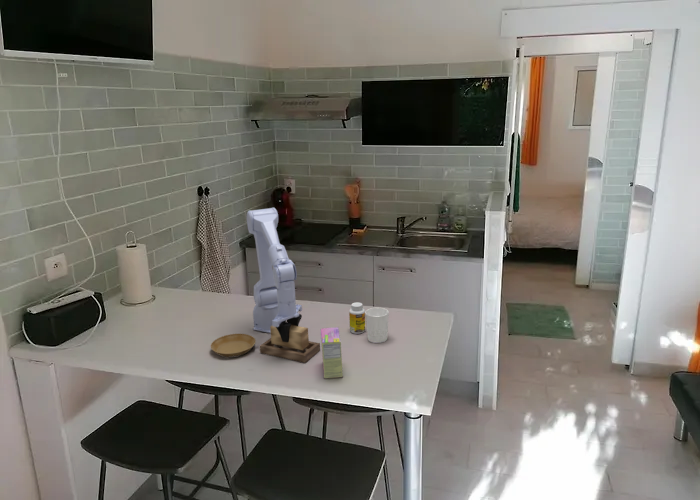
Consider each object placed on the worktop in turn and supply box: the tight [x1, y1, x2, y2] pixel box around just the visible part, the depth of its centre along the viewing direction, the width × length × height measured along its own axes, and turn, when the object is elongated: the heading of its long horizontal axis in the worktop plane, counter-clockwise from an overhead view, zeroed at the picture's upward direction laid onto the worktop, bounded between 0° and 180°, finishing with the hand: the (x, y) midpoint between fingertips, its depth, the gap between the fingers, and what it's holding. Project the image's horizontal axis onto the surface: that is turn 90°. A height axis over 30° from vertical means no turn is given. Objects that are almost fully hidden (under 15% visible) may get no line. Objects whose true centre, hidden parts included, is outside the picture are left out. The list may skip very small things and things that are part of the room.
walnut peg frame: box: [259, 337, 321, 364], centre depth 177 cm, size 17×9×3 cm, turn 63°
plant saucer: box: [210, 333, 257, 358], centre depth 180 cm, size 15×15×3 cm
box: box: [320, 326, 343, 379], centre depth 163 cm, size 10×6×12 cm, turn 5°
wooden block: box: [270, 325, 310, 350], centre depth 175 cm, size 12×4×6 cm, turn 63°
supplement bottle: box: [348, 302, 366, 335], centre depth 189 cm, size 6×6×10 cm
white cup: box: [365, 307, 390, 344], centre depth 183 cm, size 8×8×10 cm
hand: (289, 338), depth 176 cm, fingers closed on wooden block, 4 cm apart
